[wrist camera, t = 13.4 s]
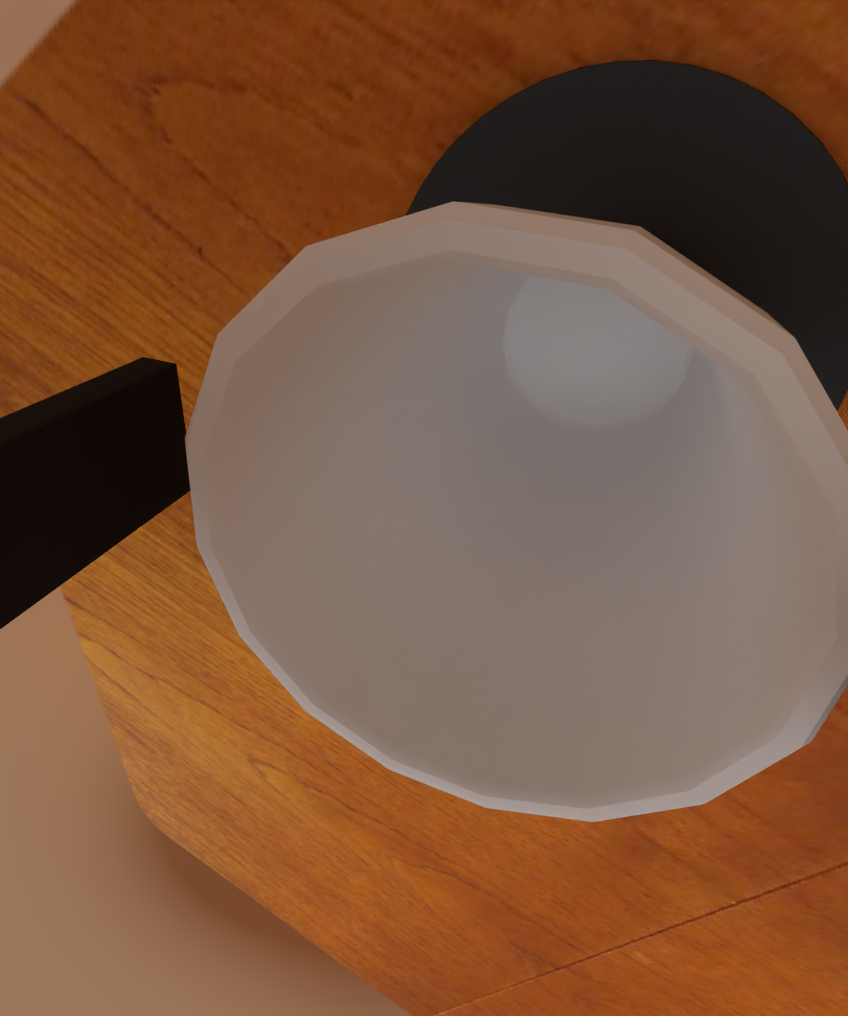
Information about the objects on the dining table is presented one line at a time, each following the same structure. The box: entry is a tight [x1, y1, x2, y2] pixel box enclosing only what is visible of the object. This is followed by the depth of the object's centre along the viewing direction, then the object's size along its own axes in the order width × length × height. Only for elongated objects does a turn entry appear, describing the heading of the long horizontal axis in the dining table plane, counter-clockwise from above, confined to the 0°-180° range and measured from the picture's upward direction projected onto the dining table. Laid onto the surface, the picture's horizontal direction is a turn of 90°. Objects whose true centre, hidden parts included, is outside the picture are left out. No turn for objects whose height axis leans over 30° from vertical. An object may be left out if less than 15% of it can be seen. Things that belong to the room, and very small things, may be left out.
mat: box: [406, 60, 848, 411], centre depth 20 cm, size 14×14×1 cm
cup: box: [185, 201, 848, 822], centre depth 15 cm, size 10×10×13 cm
